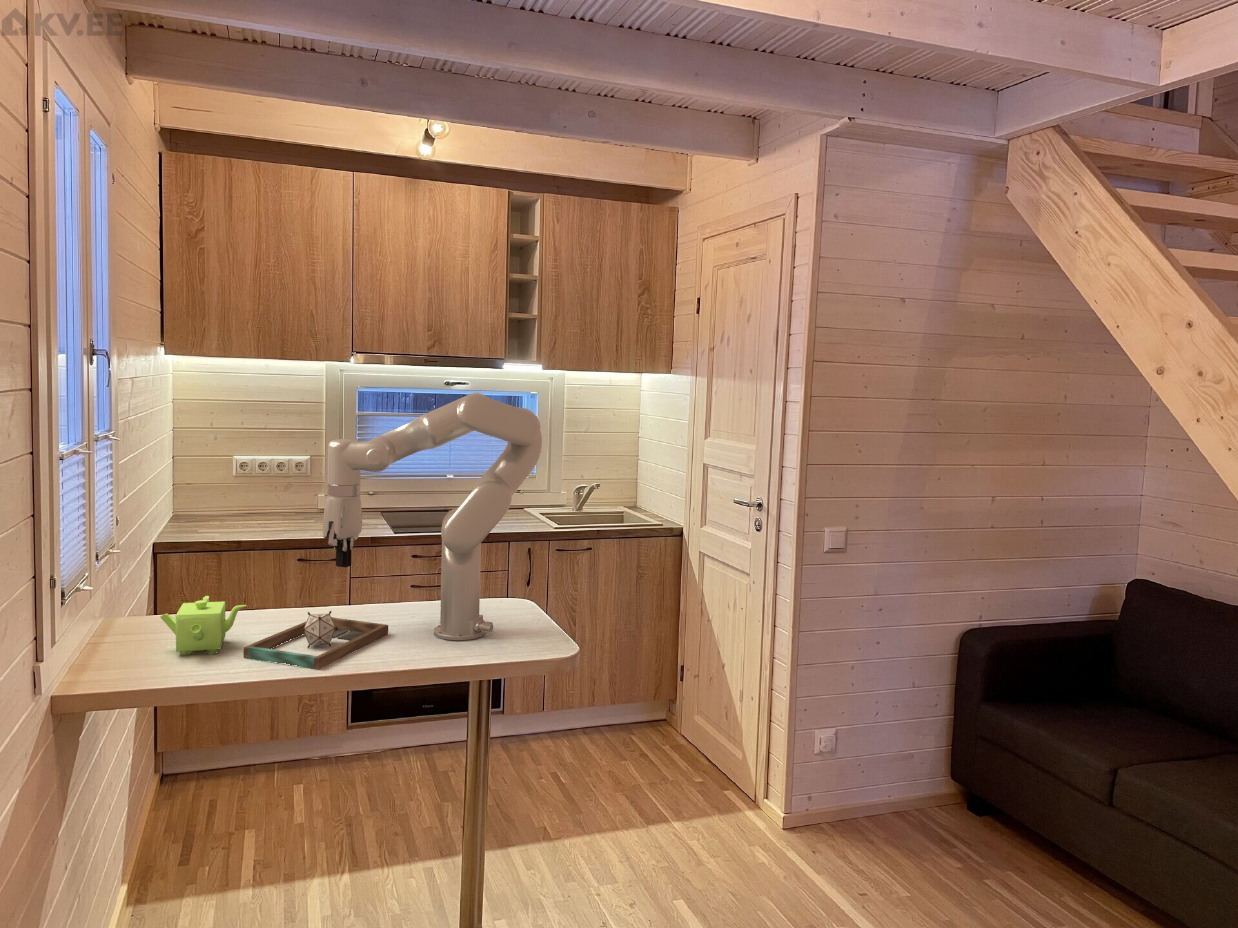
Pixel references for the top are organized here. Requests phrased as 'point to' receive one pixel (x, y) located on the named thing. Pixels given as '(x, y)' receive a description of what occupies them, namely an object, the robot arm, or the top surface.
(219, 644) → the kettle
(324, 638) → the game die
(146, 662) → the top surface
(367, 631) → the shallow open wooden box
